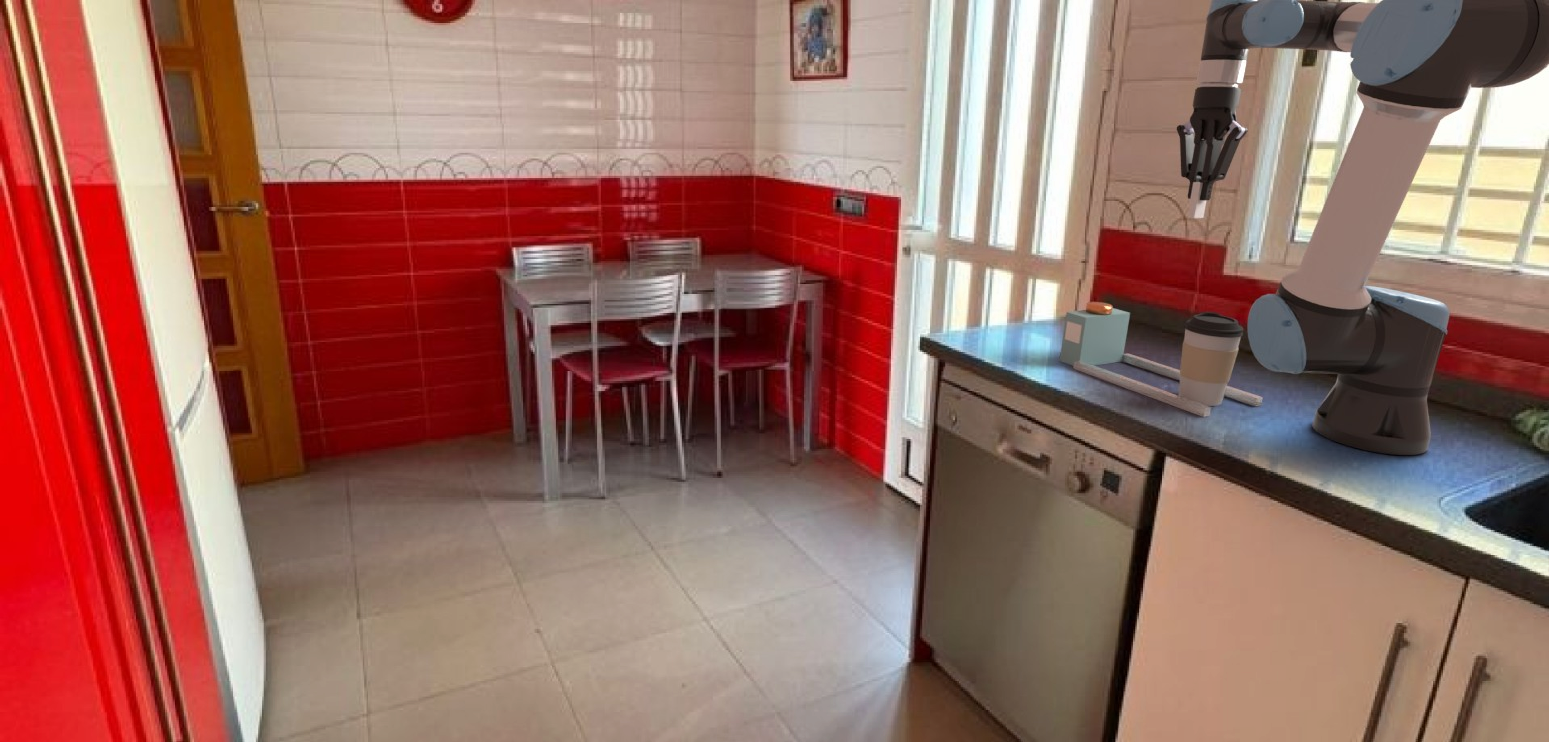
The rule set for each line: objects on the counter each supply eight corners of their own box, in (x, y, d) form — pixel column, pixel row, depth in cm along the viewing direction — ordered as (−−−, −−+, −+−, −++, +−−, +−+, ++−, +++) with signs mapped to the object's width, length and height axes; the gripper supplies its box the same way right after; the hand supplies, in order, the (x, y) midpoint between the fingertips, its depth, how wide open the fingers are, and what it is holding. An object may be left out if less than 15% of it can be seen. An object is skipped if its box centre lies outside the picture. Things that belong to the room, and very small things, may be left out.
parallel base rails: (1260, 405, 145) (1262, 397, 145) (1203, 417, 139) (1205, 408, 138) (1127, 360, 169) (1128, 353, 169) (1073, 368, 163) (1074, 361, 162)
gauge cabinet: (1122, 361, 169) (1130, 312, 166) (1077, 367, 163) (1085, 317, 160) (1102, 354, 173) (1110, 307, 170) (1058, 360, 168) (1065, 312, 165)
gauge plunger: (1113, 338, 166) (1118, 306, 164) (1095, 340, 164) (1100, 308, 162) (1094, 332, 170) (1098, 301, 168) (1076, 334, 168) (1081, 303, 166)
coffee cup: (1235, 410, 143) (1254, 324, 138) (1179, 405, 144) (1195, 320, 139) (1218, 393, 151) (1235, 312, 147) (1165, 389, 152) (1180, 308, 148)
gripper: (1266, 87, 149) (1239, 221, 156) (1199, 87, 160) (1178, 213, 167) (1239, 85, 145) (1213, 222, 152) (1173, 85, 156) (1152, 214, 163)
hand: (1195, 217), depth 159 cm, fingers closed
